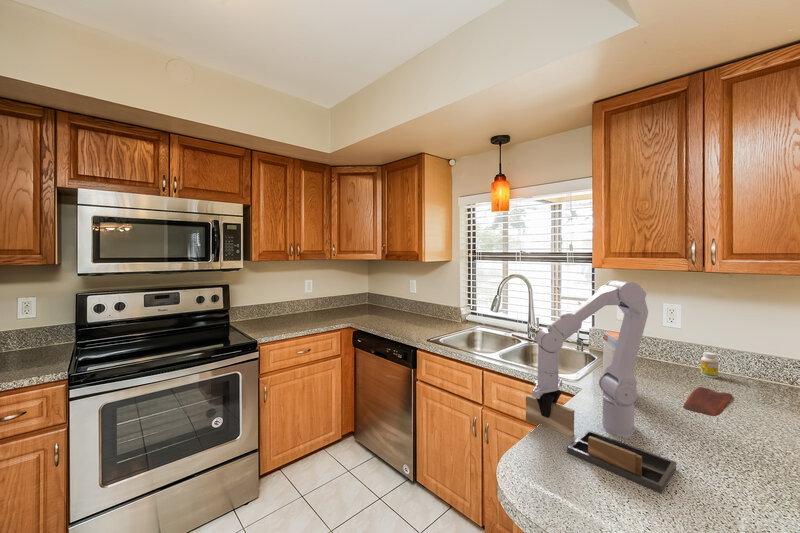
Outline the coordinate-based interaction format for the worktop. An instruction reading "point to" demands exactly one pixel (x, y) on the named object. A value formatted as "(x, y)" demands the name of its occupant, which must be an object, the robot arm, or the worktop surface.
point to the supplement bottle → (709, 365)
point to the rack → (653, 469)
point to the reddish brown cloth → (707, 401)
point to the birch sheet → (551, 416)
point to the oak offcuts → (615, 455)
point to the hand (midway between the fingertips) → (547, 415)
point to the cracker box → (609, 348)
